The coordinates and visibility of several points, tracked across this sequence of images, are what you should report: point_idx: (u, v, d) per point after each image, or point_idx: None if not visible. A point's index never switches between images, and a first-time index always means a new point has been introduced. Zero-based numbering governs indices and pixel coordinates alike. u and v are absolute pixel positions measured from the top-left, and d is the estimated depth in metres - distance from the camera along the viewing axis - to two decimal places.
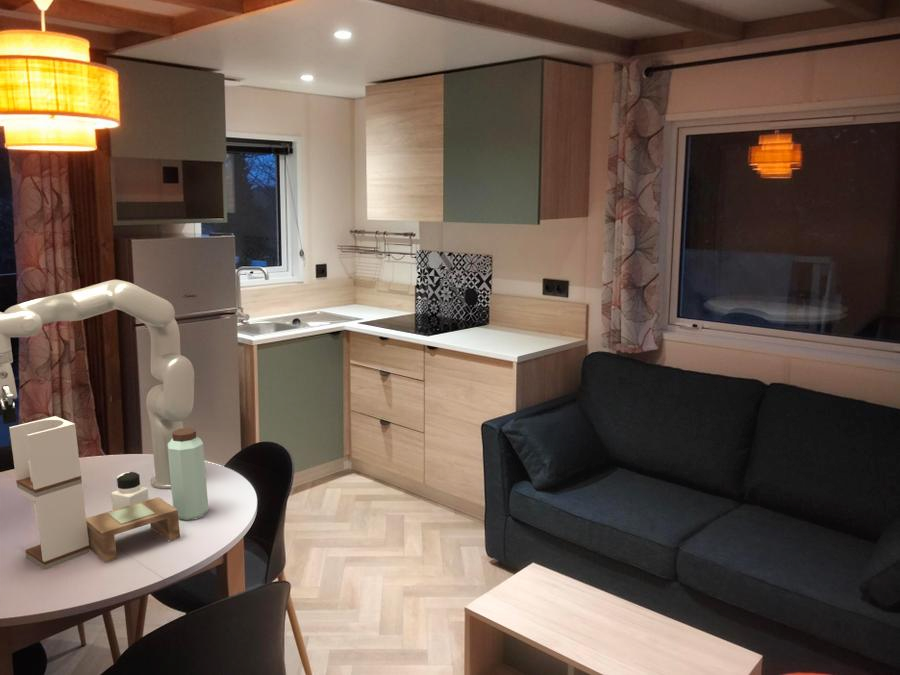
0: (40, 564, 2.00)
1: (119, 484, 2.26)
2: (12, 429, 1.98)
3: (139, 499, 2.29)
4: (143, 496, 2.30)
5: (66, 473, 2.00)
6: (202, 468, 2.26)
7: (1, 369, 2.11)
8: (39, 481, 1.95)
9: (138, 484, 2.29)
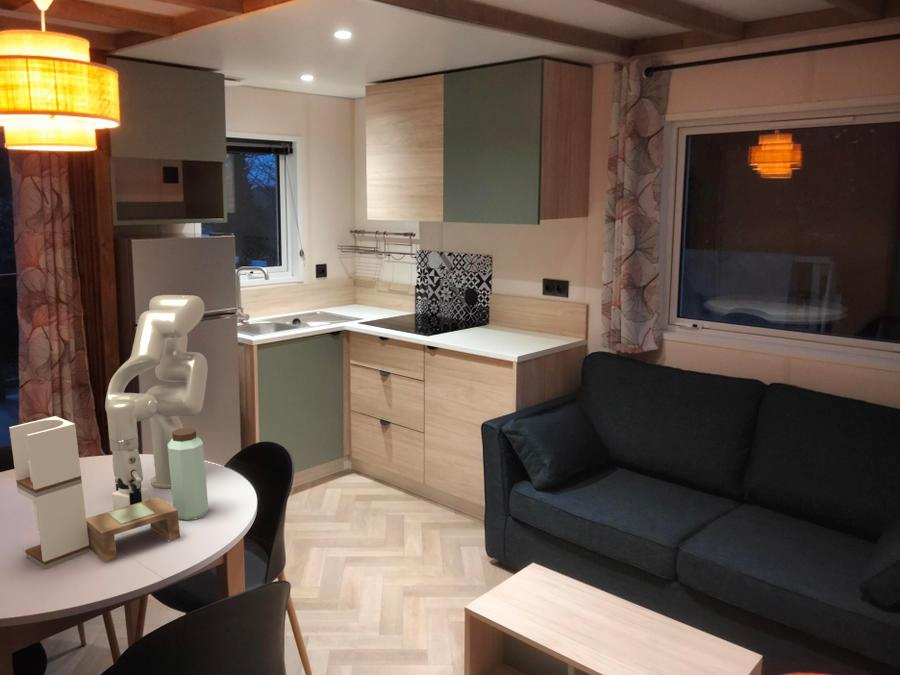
0: (40, 564, 2.00)
1: (119, 484, 2.26)
2: (12, 429, 1.98)
3: None
4: (144, 496, 2.30)
5: (66, 473, 2.00)
6: (202, 468, 2.26)
7: (130, 455, 2.23)
8: (39, 481, 1.95)
9: None
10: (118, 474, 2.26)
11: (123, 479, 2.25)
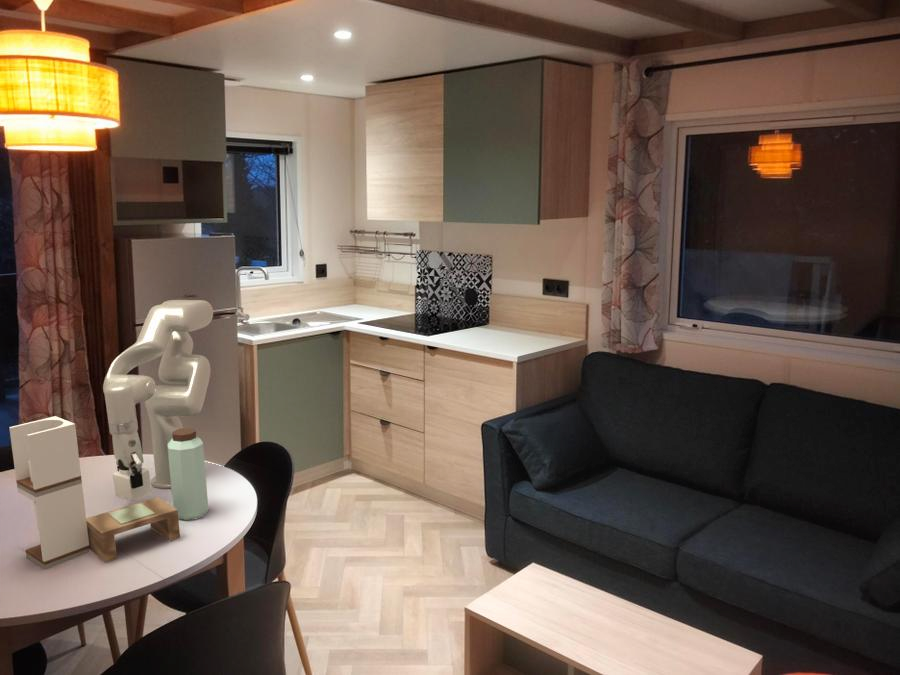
0: (40, 564, 2.00)
1: (119, 465, 2.27)
2: (12, 429, 1.98)
3: None
4: (144, 477, 2.30)
5: (66, 473, 2.00)
6: (202, 468, 2.26)
7: (130, 437, 2.23)
8: (39, 481, 1.95)
9: None
10: (119, 457, 2.27)
11: (123, 462, 2.25)
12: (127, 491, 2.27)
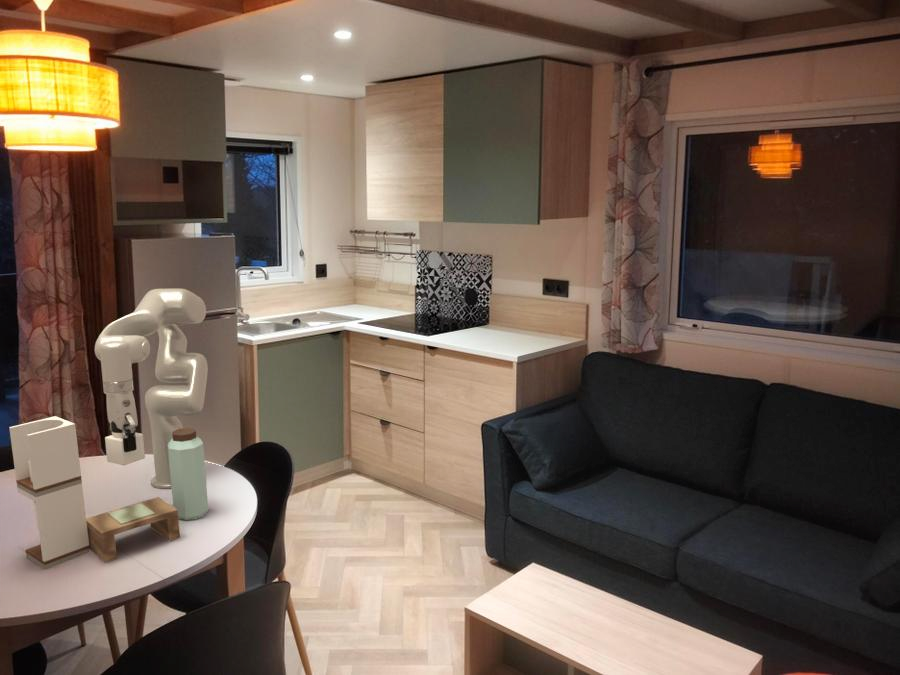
0: (40, 564, 2.00)
1: (112, 427, 2.16)
2: (12, 429, 1.98)
3: None
4: (138, 442, 2.19)
5: (66, 473, 2.00)
6: (202, 468, 2.26)
7: (124, 397, 2.13)
8: (39, 481, 1.95)
9: None
10: (112, 419, 2.16)
11: (116, 423, 2.15)
12: (119, 455, 2.16)
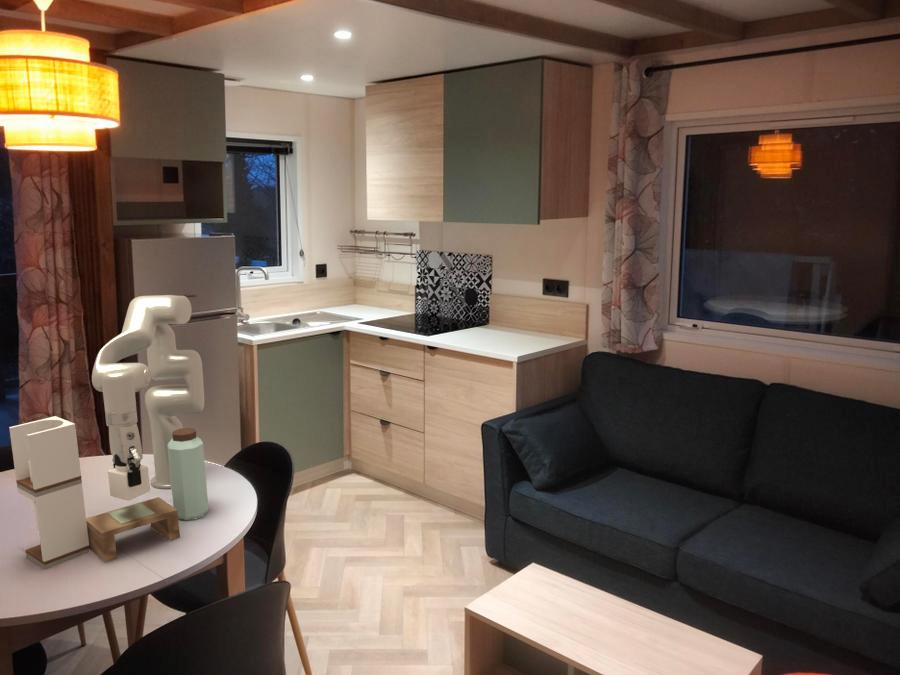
0: (40, 564, 2.00)
1: (116, 461, 2.06)
2: (12, 429, 1.98)
3: None
4: (142, 475, 2.09)
5: (66, 473, 2.00)
6: (202, 468, 2.26)
7: (128, 430, 2.03)
8: (39, 481, 1.95)
9: None
10: (116, 452, 2.06)
11: (120, 457, 2.04)
12: (123, 490, 2.06)
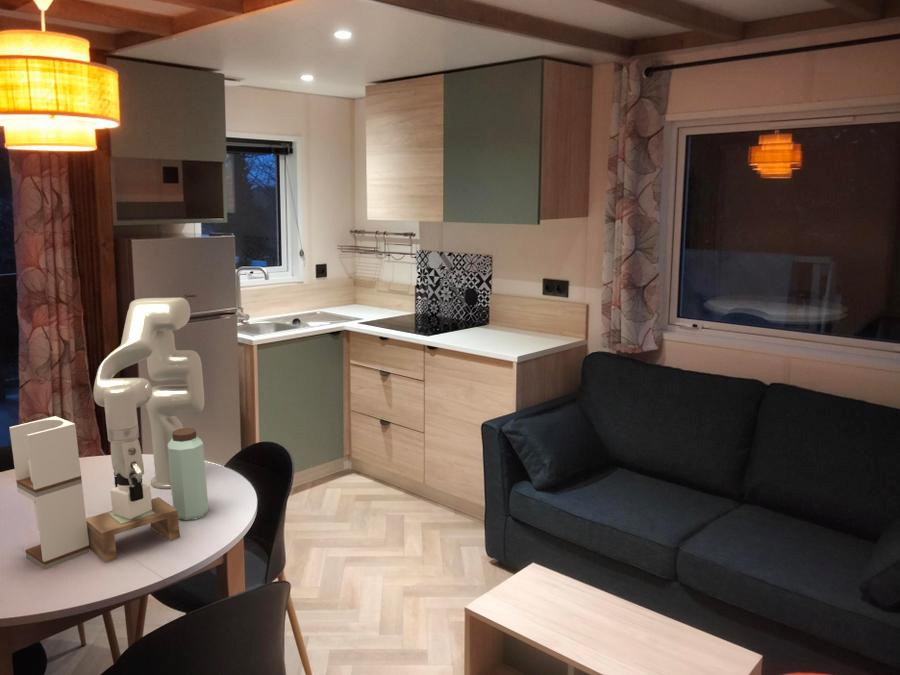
0: (40, 564, 2.00)
1: (118, 480, 2.07)
2: (12, 429, 1.98)
3: None
4: (144, 494, 2.10)
5: (66, 473, 2.00)
6: (202, 468, 2.26)
7: (130, 445, 2.04)
8: (39, 481, 1.95)
9: None
10: (117, 467, 2.07)
11: (122, 472, 2.05)
12: (125, 509, 2.07)
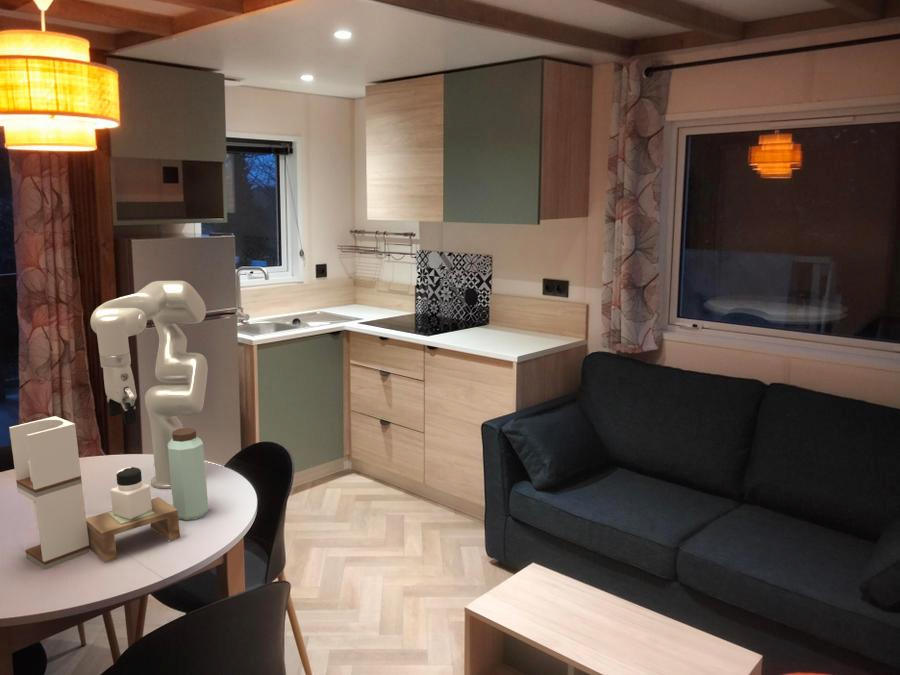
0: (40, 564, 2.00)
1: (118, 480, 2.07)
2: (12, 429, 1.98)
3: (139, 498, 2.09)
4: (144, 494, 2.10)
5: (66, 473, 2.00)
6: (202, 468, 2.26)
7: (122, 371, 2.12)
8: (39, 481, 1.95)
9: (139, 481, 2.09)
10: (110, 392, 2.16)
11: (115, 397, 2.14)
12: (125, 509, 2.07)
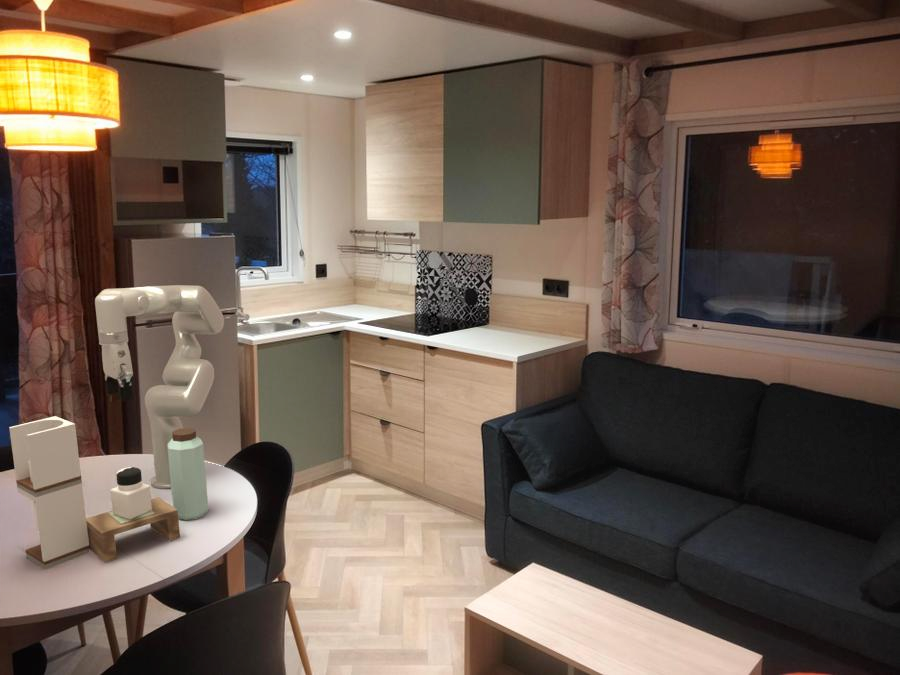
0: (40, 564, 2.00)
1: (118, 480, 2.07)
2: (12, 429, 1.98)
3: (139, 498, 2.09)
4: (144, 494, 2.10)
5: (66, 473, 2.00)
6: (202, 468, 2.26)
7: (119, 348, 2.20)
8: (39, 481, 1.95)
9: (139, 481, 2.09)
10: (108, 369, 2.23)
11: (112, 373, 2.22)
12: (125, 509, 2.07)
